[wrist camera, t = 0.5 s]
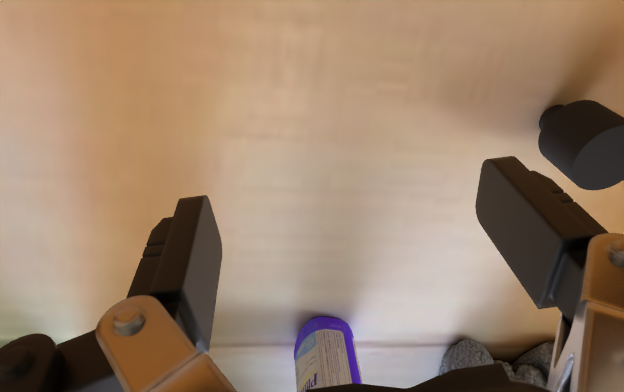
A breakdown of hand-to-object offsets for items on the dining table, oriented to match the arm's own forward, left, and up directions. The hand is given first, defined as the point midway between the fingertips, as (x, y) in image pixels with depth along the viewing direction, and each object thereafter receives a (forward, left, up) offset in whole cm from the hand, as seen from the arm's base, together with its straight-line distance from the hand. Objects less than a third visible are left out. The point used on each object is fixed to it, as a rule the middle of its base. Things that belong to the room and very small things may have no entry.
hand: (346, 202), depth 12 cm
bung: (+8, +18, -17) cm, 26 cm away
